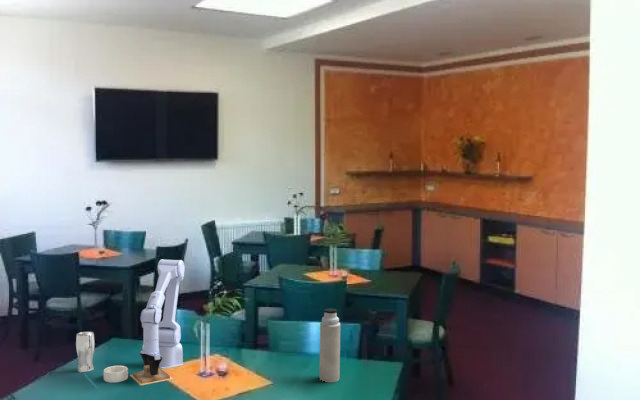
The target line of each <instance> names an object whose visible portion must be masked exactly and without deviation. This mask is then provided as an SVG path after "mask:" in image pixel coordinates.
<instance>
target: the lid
mask: <svg viewBox="0 0 640 400" xmlns="http://www.w3.org/2000/svg"><path fill="white" fill-rule="evenodd" d="M132 375H133V376H134V377H135V378H136V379H137V380H138V381H140V382H141V383H142V384H145V383H150V382H155V381H160V380H165V379H170V377H171V375H169V374H168V373H167V372H165V371H164V370H163V369H161V368H160V367H159V368H158V372H157V375H153V376H152V375H151V373H150V366H149V365H146V366H144V365H143V370H142V371H136V372H132ZM160 382H161V381H160ZM155 383H156V382H155ZM150 384H151V383H150ZM145 385H146V384H145Z"/></svg>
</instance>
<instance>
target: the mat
mask: <svg viewBox="0 0 640 400" xmlns="http://www.w3.org/2000/svg"><path fill="white" fill-rule="evenodd" d="M129 377H131V378H132V379H133V380H134V381H135V382H137V384H138V385H139V386H144V385H145V386H146V385H150V384H154V383H159V382H165V381H170V380H173V379H174V378H173V377H172V376H170V379H165V380H160V381H155V382H150V383H145V384H142V383H141V382H140V381H138V380H137V379H136V378H135V377H134V376H133V374H129Z"/></svg>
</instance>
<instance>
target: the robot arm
mask: <svg viewBox="0 0 640 400" xmlns="http://www.w3.org/2000/svg"><path fill="white" fill-rule="evenodd" d="M185 268H186V267H185V263H184V261H183V260H182V259H164V258H163V259H160V260H159V261H158V262H157V273H158V278H157V283H156V287H155V290H154V291H153V292H152V293H150V297H149V298H148V301H147V304H146V308H144V309H142V311H141V313H140V317H139V318H140V322H141V328H143V329H142V330H143V335H142V336H143V344H142V345H141V346H142V349H141V350H140V352H139V355H140V356H141V359H142V362H143V367H144V366H146V365H149V366H150V373H151V375H152V376H153V375H157V372H158V368H160V369H161V370H163V369H168V368H173V367H178V366H183V365H184V359H183V356H184V353H183V351H184V350H183V346H182V344H181V343H180V341H181V337H182V334H181V333H182V331H181V326H180V324H179V323H178V322H176V312H177V305H178V299H179V298H178V297H179V291H180V290H179V289H180V283H181V282H182V281H183V280H184V277H185ZM165 292H166V293H165ZM163 306H164V307H163ZM162 308H163V310H162ZM162 312H163V315H162ZM162 317H163V318H162ZM161 319H162V320H161Z"/></svg>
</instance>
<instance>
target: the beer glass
mask: <svg viewBox="0 0 640 400" xmlns="http://www.w3.org/2000/svg"><path fill="white" fill-rule="evenodd" d="M75 339H76V341H75V348H76V353H77V358H78V366H77V372H79V373H82V374H83V373H85V372H90V371H93V370H94V369H95V368H94V363H93V359H94V352H95V333H94V332H93V331H81V332H78V333H76V338H75Z"/></svg>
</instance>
